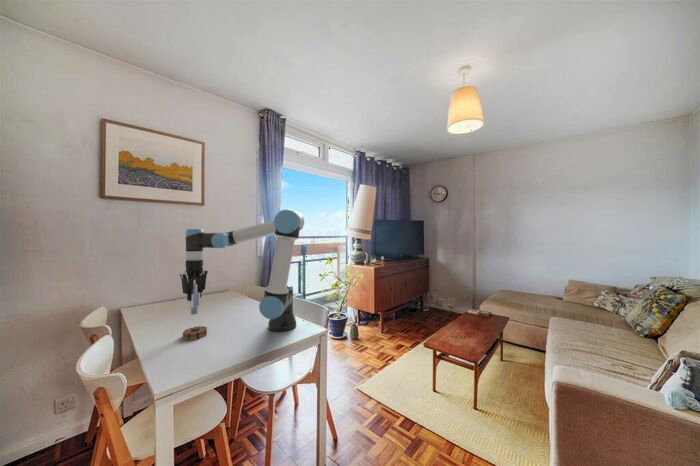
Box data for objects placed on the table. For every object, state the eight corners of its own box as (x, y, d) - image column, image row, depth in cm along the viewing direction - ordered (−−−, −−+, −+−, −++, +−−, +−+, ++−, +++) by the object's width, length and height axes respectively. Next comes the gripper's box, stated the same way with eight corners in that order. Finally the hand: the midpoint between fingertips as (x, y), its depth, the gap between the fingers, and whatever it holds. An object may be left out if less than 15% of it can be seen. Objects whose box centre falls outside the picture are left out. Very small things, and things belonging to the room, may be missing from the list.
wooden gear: (211, 333, 128) (211, 327, 128) (192, 341, 118) (192, 335, 118) (197, 330, 132) (197, 325, 131) (178, 338, 122) (178, 332, 122)
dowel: (198, 313, 126) (198, 282, 125) (193, 314, 123) (193, 284, 123) (194, 312, 127) (195, 282, 126) (189, 314, 124) (189, 283, 124)
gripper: (203, 257, 133) (203, 300, 134) (173, 260, 119) (173, 309, 119) (213, 258, 130) (213, 302, 131) (183, 261, 116) (183, 311, 116)
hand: (194, 305), depth 125 cm, fingers closed on dowel, 3 cm apart
